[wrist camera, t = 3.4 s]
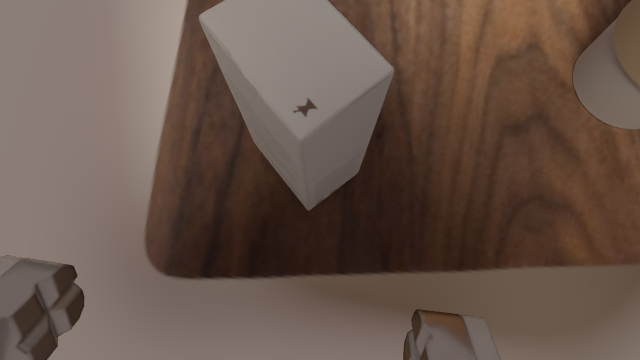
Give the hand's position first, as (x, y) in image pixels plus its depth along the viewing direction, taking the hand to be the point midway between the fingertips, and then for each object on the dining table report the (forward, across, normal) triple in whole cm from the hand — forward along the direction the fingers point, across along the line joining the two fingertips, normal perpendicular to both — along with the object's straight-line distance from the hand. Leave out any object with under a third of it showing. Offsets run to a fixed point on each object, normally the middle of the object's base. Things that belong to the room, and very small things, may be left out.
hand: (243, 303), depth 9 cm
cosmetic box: (+15, 0, +4) cm, 16 cm away
